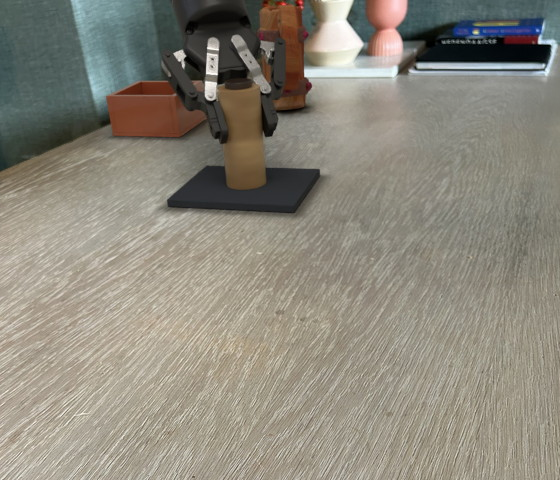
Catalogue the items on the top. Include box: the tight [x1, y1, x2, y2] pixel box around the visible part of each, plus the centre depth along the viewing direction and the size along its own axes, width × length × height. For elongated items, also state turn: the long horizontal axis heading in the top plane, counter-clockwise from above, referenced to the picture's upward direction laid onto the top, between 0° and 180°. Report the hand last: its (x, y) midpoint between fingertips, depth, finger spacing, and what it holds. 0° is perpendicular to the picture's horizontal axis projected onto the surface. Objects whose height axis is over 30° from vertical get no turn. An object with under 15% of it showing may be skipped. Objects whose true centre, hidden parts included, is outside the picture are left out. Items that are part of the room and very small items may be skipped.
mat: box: [166, 165, 321, 214], centre depth 74 cm, size 14×12×1 cm
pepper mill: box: [217, 78, 266, 190], centre depth 71 cm, size 4×4×11 cm
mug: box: [255, 4, 313, 111], centre depth 100 cm, size 15×8×15 cm, turn 6°
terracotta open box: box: [105, 80, 207, 138], centre depth 99 cm, size 11×11×6 cm
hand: (247, 135), depth 69 cm, fingers closed on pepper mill, 4 cm apart
